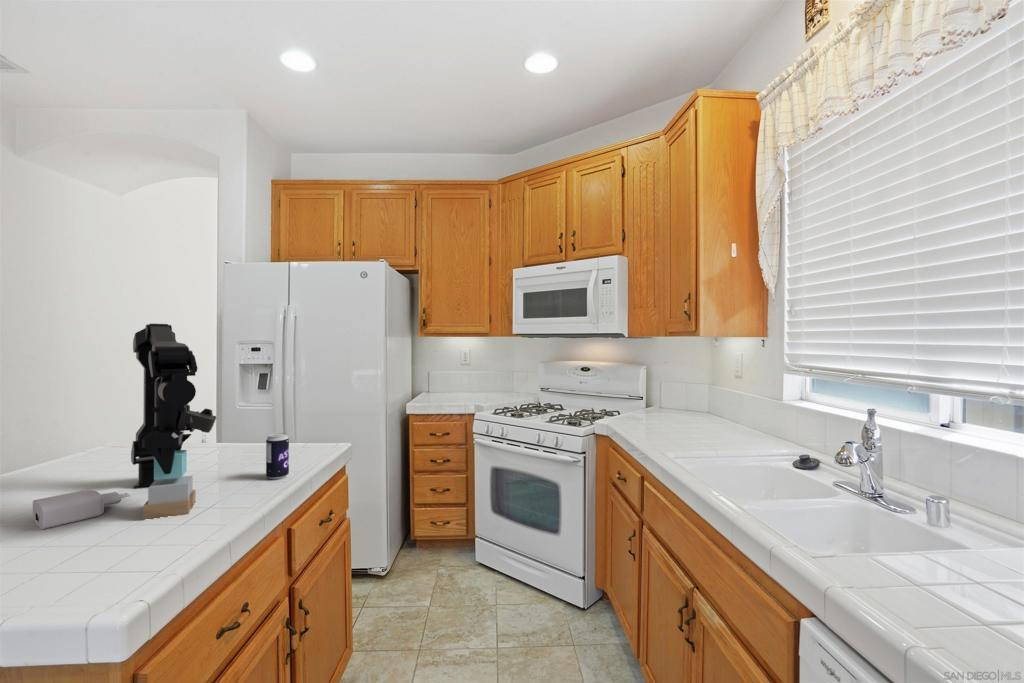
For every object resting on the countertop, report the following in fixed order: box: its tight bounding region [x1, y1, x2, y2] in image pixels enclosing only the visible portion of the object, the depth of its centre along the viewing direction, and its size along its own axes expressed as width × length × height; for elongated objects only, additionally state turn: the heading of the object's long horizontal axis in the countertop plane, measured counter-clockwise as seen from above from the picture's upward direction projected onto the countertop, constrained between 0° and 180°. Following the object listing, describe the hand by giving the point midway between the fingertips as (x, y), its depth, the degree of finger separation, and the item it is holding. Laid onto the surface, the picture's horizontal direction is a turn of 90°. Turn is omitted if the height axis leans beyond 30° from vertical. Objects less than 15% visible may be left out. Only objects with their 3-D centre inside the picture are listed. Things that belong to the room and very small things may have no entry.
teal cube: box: [154, 449, 188, 480], centre depth 102 cm, size 5×5×5 cm
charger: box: [32, 488, 131, 530], centre depth 100 cm, size 5×9×15 cm
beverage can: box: [265, 432, 290, 480], centre depth 127 cm, size 6×6×12 cm
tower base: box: [142, 489, 196, 521], centre depth 102 cm, size 8×8×4 cm
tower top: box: [147, 475, 194, 504], centre depth 102 cm, size 7×7×4 cm
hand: (170, 470), depth 102 cm, fingers closed on teal cube, 5 cm apart
